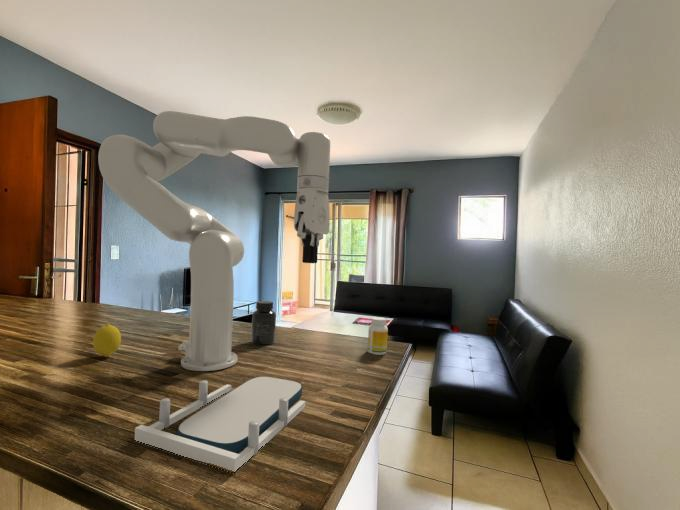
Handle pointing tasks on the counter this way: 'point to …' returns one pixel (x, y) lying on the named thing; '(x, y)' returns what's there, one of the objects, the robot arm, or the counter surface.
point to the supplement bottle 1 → (263, 324)
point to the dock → (204, 451)
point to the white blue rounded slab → (240, 413)
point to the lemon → (107, 340)
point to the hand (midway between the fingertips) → (309, 262)
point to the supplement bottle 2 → (377, 336)
